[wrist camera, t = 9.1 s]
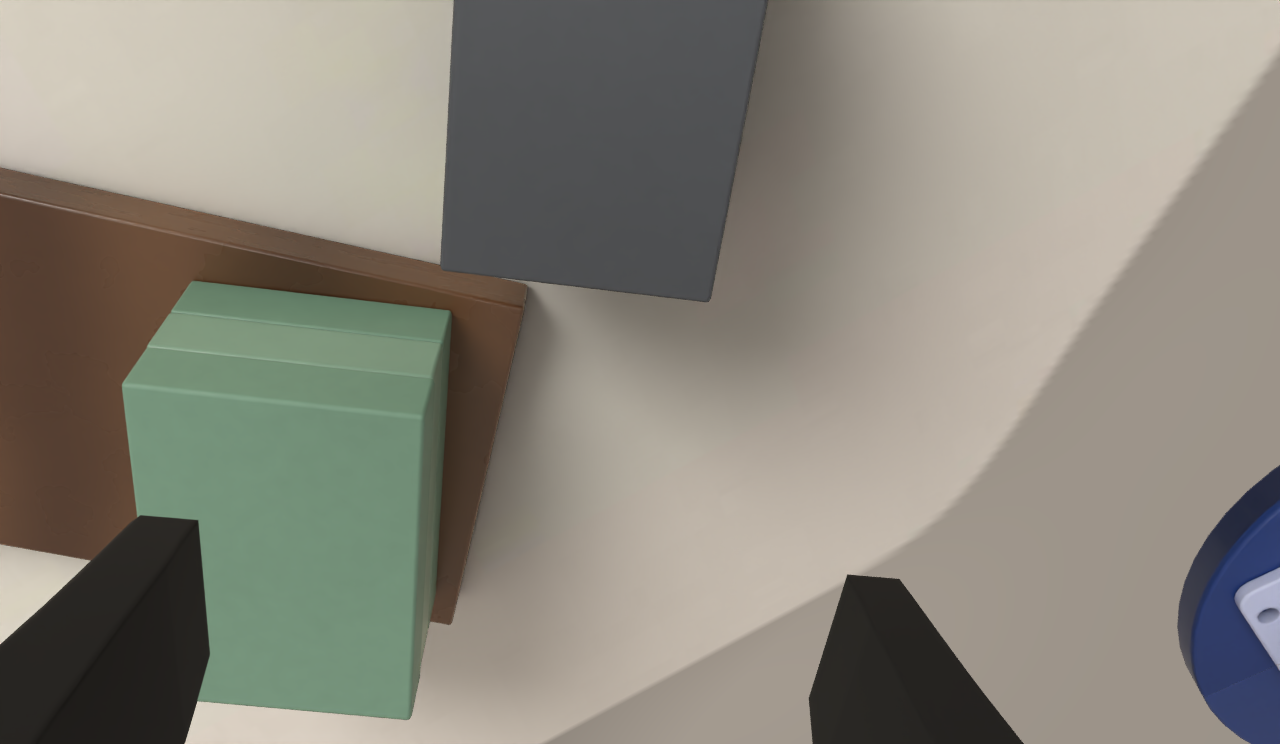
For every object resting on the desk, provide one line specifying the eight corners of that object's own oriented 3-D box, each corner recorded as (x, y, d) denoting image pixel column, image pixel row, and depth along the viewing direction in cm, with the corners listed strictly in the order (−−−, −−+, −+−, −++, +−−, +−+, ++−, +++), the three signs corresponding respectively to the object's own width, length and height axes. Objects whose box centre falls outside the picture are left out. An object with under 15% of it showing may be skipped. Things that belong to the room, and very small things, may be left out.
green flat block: (452, 308, 22) (434, 377, 20) (436, 593, 25) (419, 676, 23) (191, 278, 21) (144, 345, 19) (213, 571, 25) (176, 653, 23)
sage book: (435, 377, 20) (425, 417, 19) (420, 675, 23) (410, 722, 22) (146, 344, 19) (119, 383, 18) (177, 652, 23) (157, 699, 22)
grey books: (771, -221, 18) (804, -189, 14) (697, 196, 22) (710, 304, 18) (499, -263, 18) (464, -240, 14) (471, 167, 21) (439, 271, 18)
